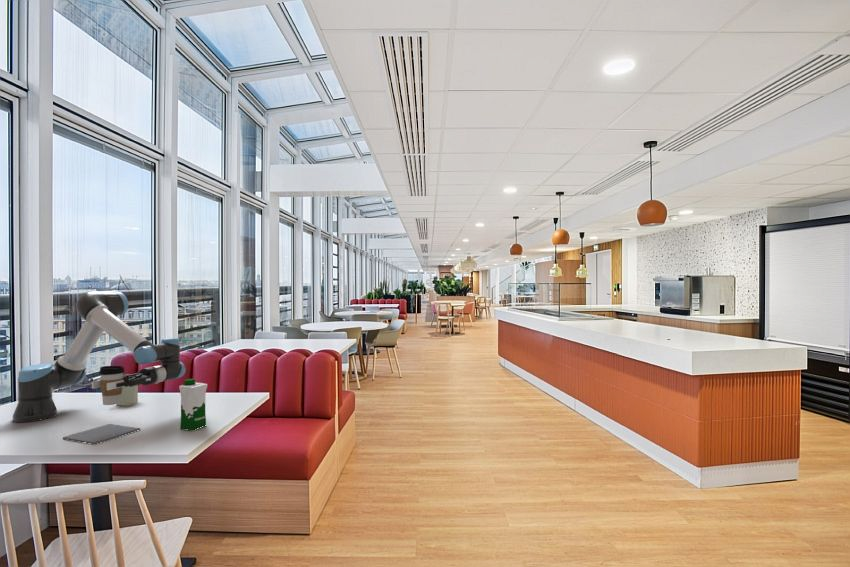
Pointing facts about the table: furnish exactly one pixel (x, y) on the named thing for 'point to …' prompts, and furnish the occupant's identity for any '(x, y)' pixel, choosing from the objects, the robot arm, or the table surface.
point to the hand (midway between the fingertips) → (99, 386)
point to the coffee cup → (109, 376)
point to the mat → (101, 433)
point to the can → (129, 395)
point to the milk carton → (192, 404)
